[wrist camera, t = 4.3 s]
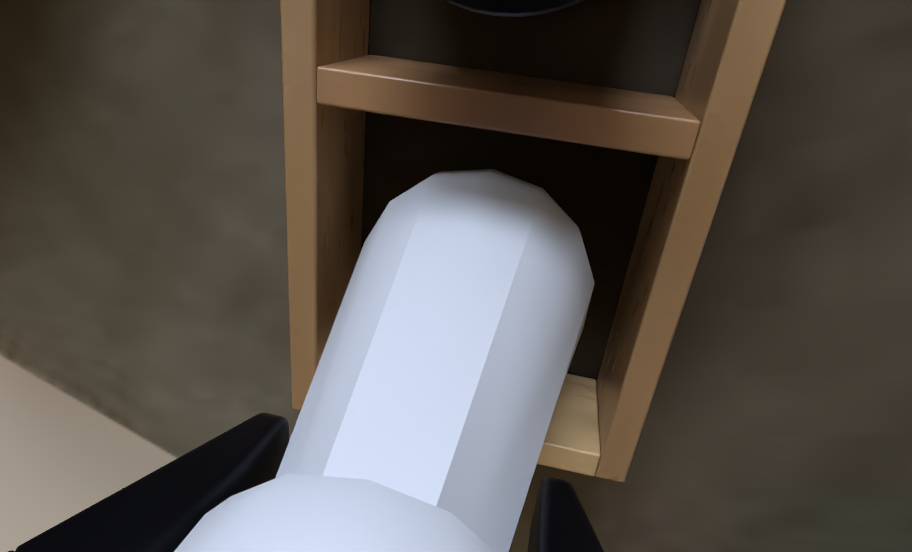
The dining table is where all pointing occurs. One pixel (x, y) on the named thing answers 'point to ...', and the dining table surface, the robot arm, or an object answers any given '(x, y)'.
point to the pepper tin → (514, 6)
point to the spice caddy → (531, 114)
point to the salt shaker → (428, 381)
